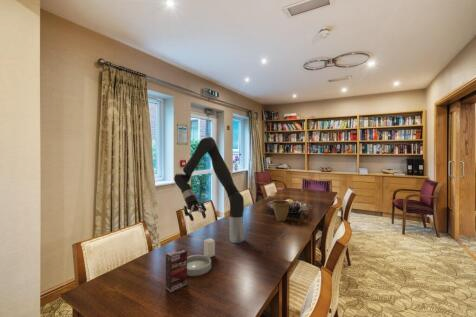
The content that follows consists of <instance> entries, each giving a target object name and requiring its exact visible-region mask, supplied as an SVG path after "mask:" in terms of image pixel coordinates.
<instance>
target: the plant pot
mask: <svg viewBox="0 0 476 317" xmlns="http://www.w3.org/2000/svg"><path fill="white" fill-rule="evenodd" d="M290 205H291V204H290V201H288V200H283V199H282V200H281V199H280V200H279V199H278V200H273V201H272V208H273V211H274V216H275V218H276V220H277V221H278V222H285V221H286V220H287V216H288V214H289V210H290Z"/></svg>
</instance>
